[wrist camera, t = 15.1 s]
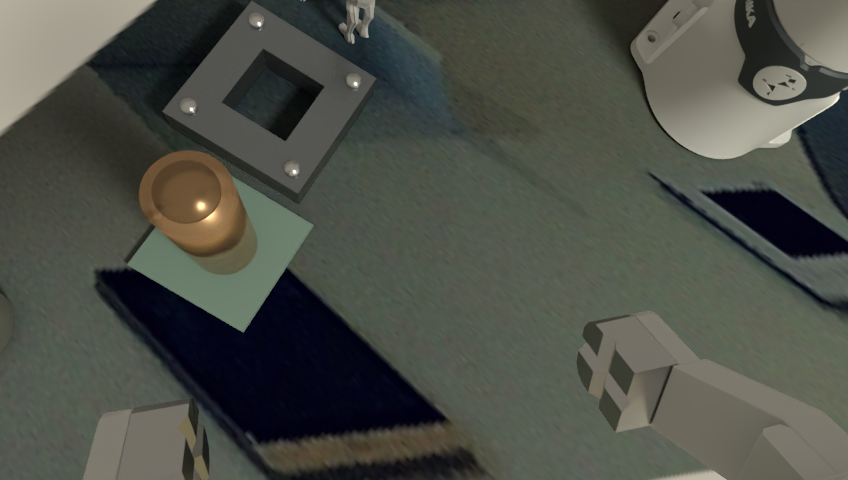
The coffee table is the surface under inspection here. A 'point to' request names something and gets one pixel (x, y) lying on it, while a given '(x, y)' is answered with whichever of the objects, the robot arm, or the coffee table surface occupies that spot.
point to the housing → (236, 73)
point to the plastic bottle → (5, 322)
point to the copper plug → (199, 210)
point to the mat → (238, 291)
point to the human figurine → (352, 5)
